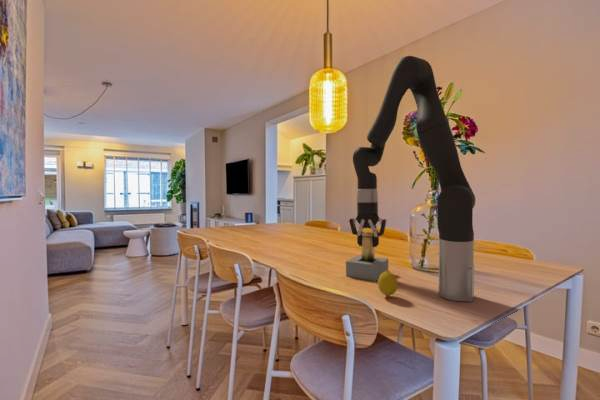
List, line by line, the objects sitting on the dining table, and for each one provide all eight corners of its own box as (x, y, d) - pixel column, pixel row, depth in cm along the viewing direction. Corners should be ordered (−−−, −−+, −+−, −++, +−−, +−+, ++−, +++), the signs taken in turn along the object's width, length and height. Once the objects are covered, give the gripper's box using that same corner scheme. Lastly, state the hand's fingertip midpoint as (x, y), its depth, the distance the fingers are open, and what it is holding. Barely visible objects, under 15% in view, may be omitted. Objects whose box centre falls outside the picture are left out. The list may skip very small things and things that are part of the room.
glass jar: (376, 260, 118) (376, 232, 118) (373, 264, 113) (373, 234, 113) (362, 259, 120) (362, 231, 120) (358, 262, 116) (358, 233, 115)
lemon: (374, 295, 95) (374, 269, 95) (389, 292, 97) (388, 267, 97) (386, 301, 90) (386, 274, 90) (401, 298, 92) (401, 271, 92)
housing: (388, 272, 119) (388, 258, 118) (377, 281, 109) (377, 265, 109) (359, 268, 125) (359, 255, 125) (346, 275, 116) (345, 261, 115)
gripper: (388, 200, 116) (389, 245, 117) (351, 200, 122) (352, 243, 123) (385, 201, 109) (385, 249, 110) (345, 201, 116) (346, 246, 116)
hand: (368, 246), depth 117 cm, fingers closed on glass jar, 5 cm apart
